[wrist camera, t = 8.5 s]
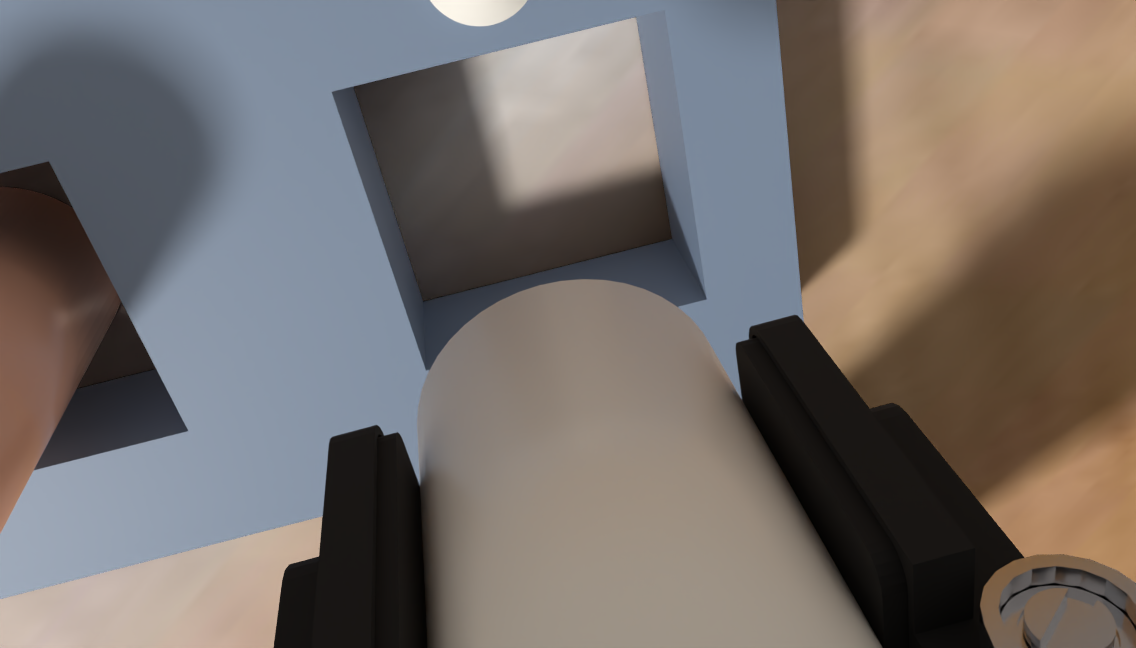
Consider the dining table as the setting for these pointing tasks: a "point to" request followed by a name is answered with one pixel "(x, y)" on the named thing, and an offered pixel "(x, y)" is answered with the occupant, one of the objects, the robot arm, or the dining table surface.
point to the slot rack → (325, 238)
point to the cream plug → (610, 489)
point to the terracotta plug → (43, 326)
